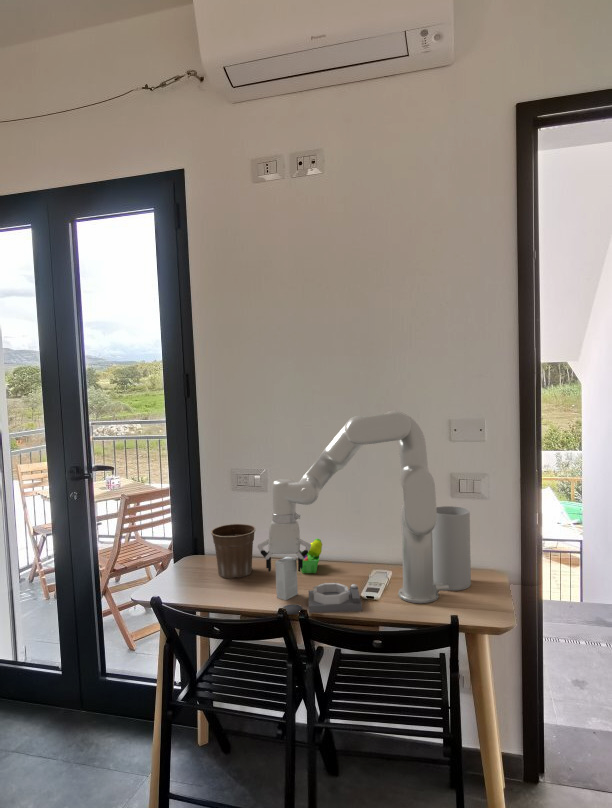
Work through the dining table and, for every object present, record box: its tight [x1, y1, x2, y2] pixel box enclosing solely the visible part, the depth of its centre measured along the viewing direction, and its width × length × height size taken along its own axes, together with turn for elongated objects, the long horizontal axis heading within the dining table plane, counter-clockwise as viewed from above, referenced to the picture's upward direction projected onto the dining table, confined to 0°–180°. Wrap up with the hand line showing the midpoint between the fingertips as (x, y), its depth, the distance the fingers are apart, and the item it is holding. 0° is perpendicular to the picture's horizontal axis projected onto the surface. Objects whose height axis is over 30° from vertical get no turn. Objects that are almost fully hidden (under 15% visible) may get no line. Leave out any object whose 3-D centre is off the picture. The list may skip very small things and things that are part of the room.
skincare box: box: [274, 556, 299, 601], centre depth 175 cm, size 6×4×12 cm
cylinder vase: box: [432, 505, 472, 591], centre depth 180 cm, size 12×12×25 cm
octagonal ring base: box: [308, 582, 363, 613], centre depth 168 cm, size 16×12×4 cm
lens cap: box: [282, 603, 303, 615], centre depth 164 cm, size 6×6×1 cm
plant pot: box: [210, 523, 256, 579], centre depth 197 cm, size 16×16×16 cm
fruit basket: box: [300, 538, 323, 574], centre depth 200 cm, size 11×9×11 cm
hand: (284, 570), depth 174 cm, fingers open, 9 cm apart
